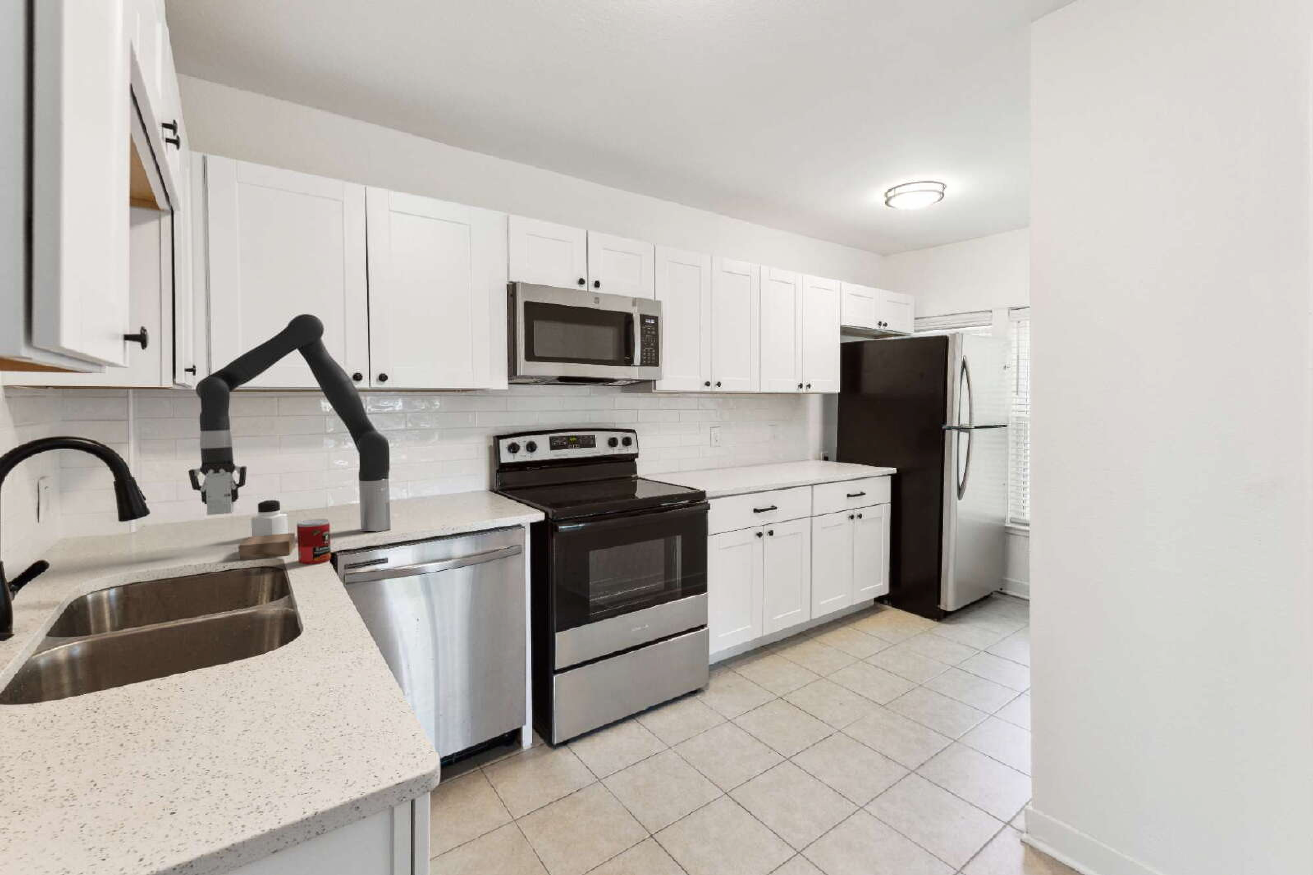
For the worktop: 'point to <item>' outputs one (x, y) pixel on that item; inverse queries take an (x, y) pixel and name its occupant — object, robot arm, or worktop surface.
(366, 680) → the worktop surface
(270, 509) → the medicine bottle
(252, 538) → the walnut base
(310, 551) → the canned food
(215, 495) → the skincare box
